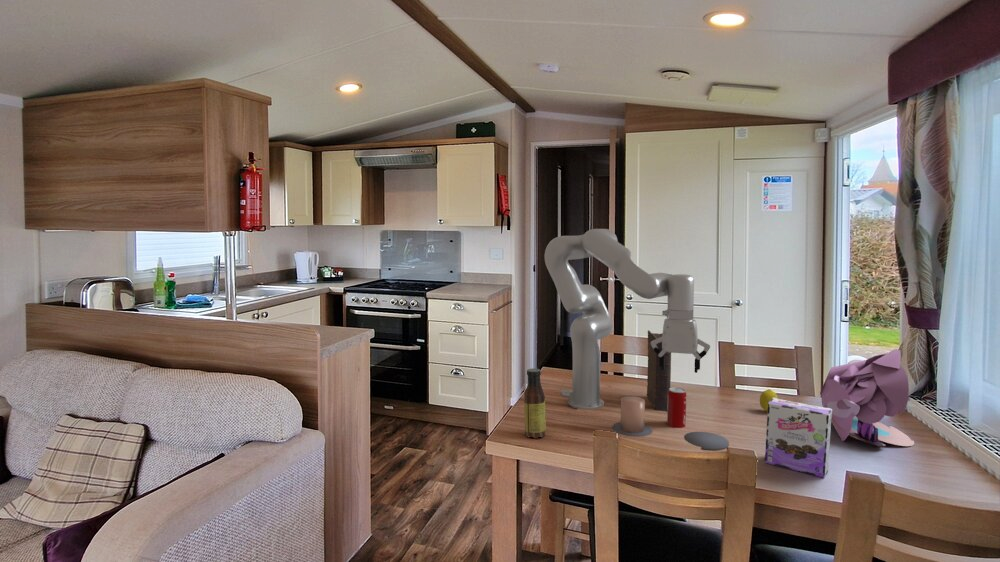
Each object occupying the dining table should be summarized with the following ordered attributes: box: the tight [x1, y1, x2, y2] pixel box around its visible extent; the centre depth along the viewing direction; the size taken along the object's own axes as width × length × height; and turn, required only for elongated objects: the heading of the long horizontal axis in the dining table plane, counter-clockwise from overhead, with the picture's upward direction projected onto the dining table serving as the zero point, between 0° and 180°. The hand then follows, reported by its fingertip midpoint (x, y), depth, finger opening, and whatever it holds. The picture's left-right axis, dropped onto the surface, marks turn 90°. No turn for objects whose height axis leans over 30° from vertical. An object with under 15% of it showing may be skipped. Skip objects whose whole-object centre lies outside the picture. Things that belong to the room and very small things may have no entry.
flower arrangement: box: [820, 348, 915, 448], centre depth 156 cm, size 35×24×28 cm
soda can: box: [666, 386, 687, 429], centre depth 164 cm, size 6×6×12 cm
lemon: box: [759, 388, 779, 413], centre depth 176 cm, size 6×6×8 cm
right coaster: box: [683, 431, 730, 451], centre depth 153 cm, size 12×12×1 cm
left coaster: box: [611, 421, 654, 438], centre depth 161 cm, size 12×12×1 cm
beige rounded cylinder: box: [620, 395, 646, 433], centre depth 161 cm, size 7×7×9 cm
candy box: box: [764, 398, 832, 478], centre depth 136 cm, size 14×6×16 cm, turn 50°
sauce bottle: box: [523, 368, 547, 439], centre depth 157 cm, size 6×6×20 cm
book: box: [646, 330, 672, 412], centre depth 184 cm, size 17×7×25 cm, turn 167°
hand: (679, 370), depth 162 cm, fingers open, 9 cm apart
